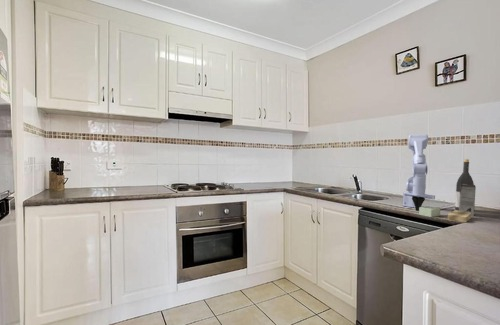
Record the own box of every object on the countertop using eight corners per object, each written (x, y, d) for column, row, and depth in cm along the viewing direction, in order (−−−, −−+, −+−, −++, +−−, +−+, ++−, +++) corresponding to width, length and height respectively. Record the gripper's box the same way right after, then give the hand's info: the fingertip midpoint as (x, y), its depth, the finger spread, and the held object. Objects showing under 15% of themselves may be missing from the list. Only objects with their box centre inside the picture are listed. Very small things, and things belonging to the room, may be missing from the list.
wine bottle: (456, 210, 150) (459, 159, 149) (453, 207, 157) (456, 159, 156) (474, 212, 146) (477, 159, 145) (470, 209, 153) (473, 159, 152)
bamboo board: (447, 219, 127) (447, 214, 127) (454, 214, 137) (454, 210, 137) (465, 222, 122) (465, 217, 122) (471, 217, 132) (471, 212, 132)
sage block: (418, 214, 137) (419, 207, 137) (427, 213, 140) (428, 206, 140) (430, 217, 131) (431, 209, 131) (439, 216, 135) (440, 208, 135)
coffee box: (458, 211, 146) (460, 183, 146) (473, 213, 142) (475, 184, 142) (458, 214, 139) (460, 184, 139) (474, 216, 135) (475, 185, 135)
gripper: (401, 184, 142) (400, 209, 143) (432, 187, 131) (431, 214, 132) (406, 184, 147) (405, 207, 147) (436, 187, 136) (435, 212, 136)
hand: (417, 210), depth 140 cm, fingers closed
